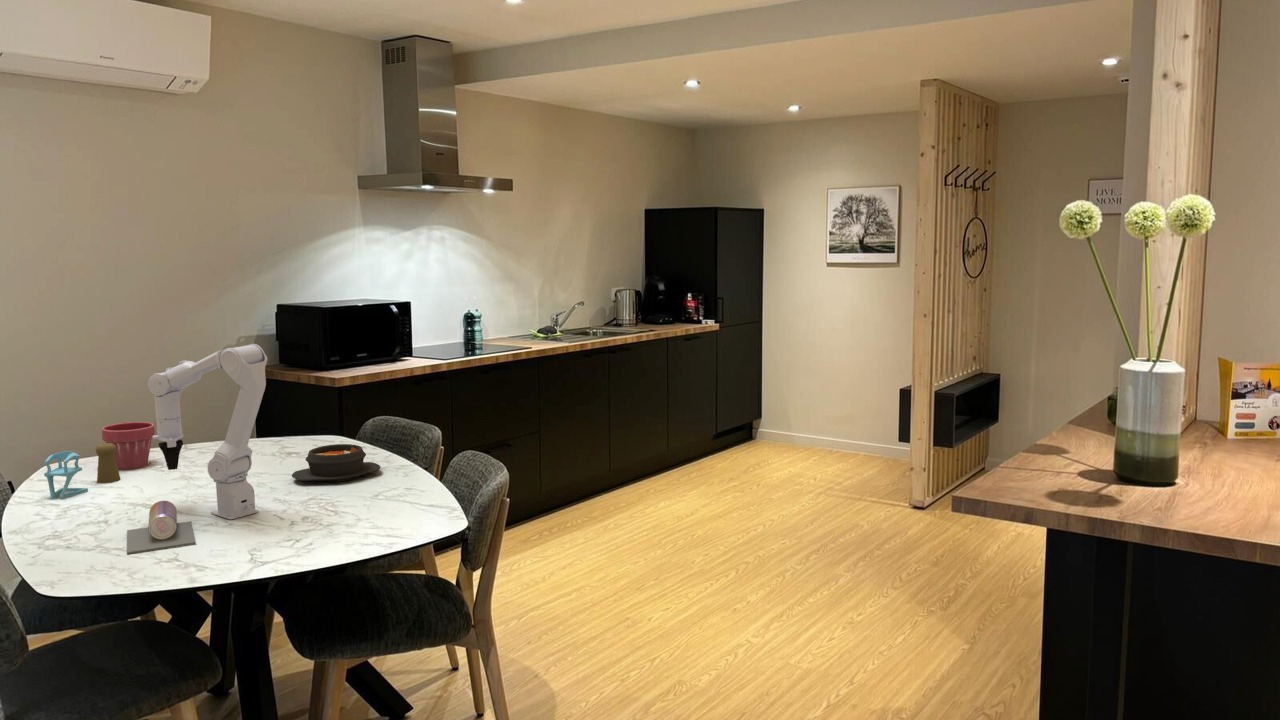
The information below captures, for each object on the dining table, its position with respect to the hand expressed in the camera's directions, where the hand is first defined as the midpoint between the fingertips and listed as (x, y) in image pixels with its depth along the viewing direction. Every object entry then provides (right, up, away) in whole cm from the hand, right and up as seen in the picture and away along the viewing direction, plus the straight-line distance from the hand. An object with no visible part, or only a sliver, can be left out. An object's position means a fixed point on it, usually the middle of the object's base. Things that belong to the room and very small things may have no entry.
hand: (172, 469), depth 242 cm
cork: (-33, -7, +29) cm, 44 cm away
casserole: (+33, -6, +31) cm, 45 cm away
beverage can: (+4, -9, -13) cm, 16 cm away
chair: (-37, -9, +14) cm, 40 cm away
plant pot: (-36, -5, +45) cm, 58 cm away
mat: (+9, -14, -23) cm, 28 cm away
